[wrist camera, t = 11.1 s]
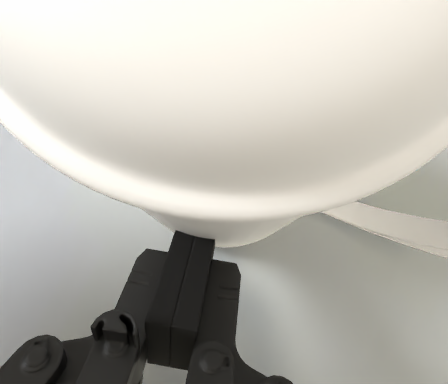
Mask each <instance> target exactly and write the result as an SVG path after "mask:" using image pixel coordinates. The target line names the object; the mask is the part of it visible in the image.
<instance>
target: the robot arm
mask: <svg viewBox="0 0 448 384" xmlns="http://www.w3.org/2000/svg"><path fill="white" fill-rule="evenodd" d="M214 249H215V239H208V238H201V237H197V236H193V235H189V234H186V233H183V232H180V231H177V230H176V231H175V234H174V236H173V239H172V242H171V245H170V248H169V251H168V252H163V251H158V250H152V249H146V250H145V251H144V252H143V253H142V254H141V255H140V256H139V257H138V258H137V259H136V261H135V264H134V266H133V268H132V272H131V273H130V275H129V277H128V281H127V282H126V284H125V287H124V289H123V291H122V294H121V296H120V298H119V300H118V303H117V305H116V307H115V309H113V310H110V311H108V312H105V313H103V314H102V315H100V316H99V317H98V318H96V320H95V321H94V323H93V324H92V325H91V330H92V334H93V335H91V336H89V337H85V338H81V339H74V340H68V341H62V342H61V341H60V340H59V339H57V338H56V337H55V336H50V335H42V336H37V337H35V338H32V339H30V340H28V341H27V342H25V343H24V344H23V345H22V346H21V347H20V348H18V349H17V351H16V352H15V353H14V354H13V355H12V356H11V357H10V358H9V359H8V360H7V362H6V363H5V364H4V365H3V366H2V367H1V368H0V384H142V379H143V370H144V367H145V363H146V360H147V363H150V364H156V365H161V366H167V367H169V366H170V367H172V368H178V369H184V370H188V374H187V379H186V384H293V383H292V382H291V381H289V380H288V379H286V378H284V377H282V376H275V375H273V376H270V377H266V376H264V375H263V374H261V373H259V372H258V371H256V370H254V369H252V368H251V367H249V366H248V365H247V364H245V362H244V361H243V360H242V359H241V358H240V356H239V354H238V352H237V349H236V344H235V336H236V325H237V314H238V303H239V290H240V280H241V274H240V272H239V269H238V266H237V264H236V263H230V262H225V261H219V260H213V254H214Z"/></svg>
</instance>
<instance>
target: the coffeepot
mask: <svg viewBox="0 0 448 384" xmlns="http://www.w3.org/2000/svg"><path fill="white" fill-rule="evenodd" d="M0 123H1V124H2V125H3V126H4V127H5V128H6V129H7V130H8V131H9V132H10V133H11V134H12V135H13V136H14V137H15V138H16V139H17V140H18V141H19V142H20V143H22V144H23V145H24V146H25V147H26V148H28V149H29V150H30V151H31V152H33V153H34V154H35V155H36V156H37V157H39V158H40V159H42V160H43V161H45V162H46V163H47V164H49V165H50V166H52V167H53V168H54V169H56V170H58V171H59V172H61V173H63V174H64V175H66V176H68V177H69V178H71V179H73V180H74V181H76V182H78V183H80V184H82V185H84V186H86V187H88V188H90V189H92V190H94V191H96V192H99V193H101V194H103V195H106V196H108V197H110V198H112V199H115V200H118V201H121V202H124V203H126V204H129V205H132V206H135V207H138V208H141V209H142V210H144V211H145V212H146V213H148V214H149V215H150V216H152V217H153V218H154V219H156V220H157V221H159V222H160V223H161V224H163V225H164V226H165V227H167V228H168V229H169V230H171V231H172V232H174V233H175V231H176V230H177V231H180V232H183V233H186V234H189V235H193V236H197V237H201V238H208V239H215V247H237V246H243V245H247V244H251V243H254V242H257V241H259V240H262V239H264V238H266V237H268V236H270V235H271V234H273V233H275V232H276V231H278V230H280V229H281V228H283V227H285V226H287V225H288V224H290V223H292V222H293V221H295V220H297V219H298V218H300V217H302V216H306V215H310V214H314V213H318V212H322V213H324V214H326V215H329V216H331V217H333V218H336V219H338V220H340V221H343V222H345V223H348V224H350V225H353V226H355V227H357V228H360V229H363V230H365V231H368V232H370V233H373V234H376V235H378V236H381V237H384V238H387V239H389V240H392V241H395V242H398V243H401V244H404V245H407V246H409V247H412V248H415V249H419V250H422V251H425V252H428V253H431V254H434V255H438V256H441V257H444V258H448V221H443V220H436V219H429V218H423V217H418V216H413V215H408V214H403V213H399V212H394V211H390V210H386V209H382V208H378V207H374V206H370V205H366V204H363V203H360V202H356V201H357V200H360V199H362V198H364V197H367V196H369V195H372V194H374V193H376V192H378V191H380V190H382V189H384V188H386V187H388V186H390V185H393V184H394V183H396V182H398V181H400V180H401V179H403V178H405V177H406V176H408V175H410V174H412V173H413V172H414V171H416V170H417V169H419V168H420V167H422V166H423V165H425V164H426V163H428V162H429V161H430V160H432V159H433V158H434V157H435V156H437V155H438V154H439V153H440V152H442V151H443V150H444V149H445V148H447V147H448V0H0Z"/></svg>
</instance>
